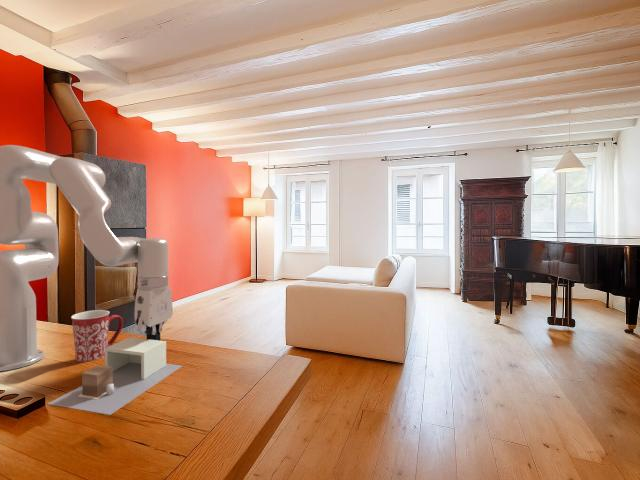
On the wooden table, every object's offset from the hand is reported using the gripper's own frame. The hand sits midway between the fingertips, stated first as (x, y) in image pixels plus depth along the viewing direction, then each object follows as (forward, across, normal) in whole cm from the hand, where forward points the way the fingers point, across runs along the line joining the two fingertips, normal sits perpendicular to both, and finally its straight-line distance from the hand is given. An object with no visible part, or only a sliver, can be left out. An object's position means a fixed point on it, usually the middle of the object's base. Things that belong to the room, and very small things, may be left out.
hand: (153, 346), depth 89 cm
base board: (+5, -13, -2) cm, 14 cm away
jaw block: (+4, -18, 0) cm, 18 cm away
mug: (+5, 0, +18) cm, 19 cm away
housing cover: (+4, -6, 0) cm, 7 cm away
